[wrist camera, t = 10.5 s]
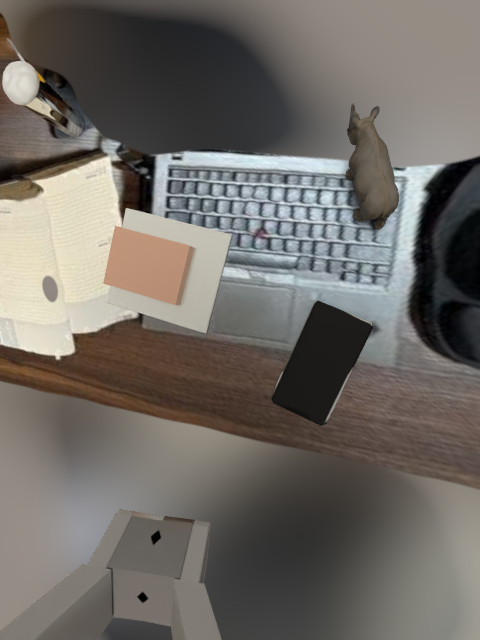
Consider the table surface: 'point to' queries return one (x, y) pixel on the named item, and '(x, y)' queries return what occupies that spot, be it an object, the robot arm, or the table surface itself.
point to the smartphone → (321, 362)
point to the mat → (202, 274)
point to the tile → (149, 265)
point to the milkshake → (39, 97)
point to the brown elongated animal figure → (371, 171)
